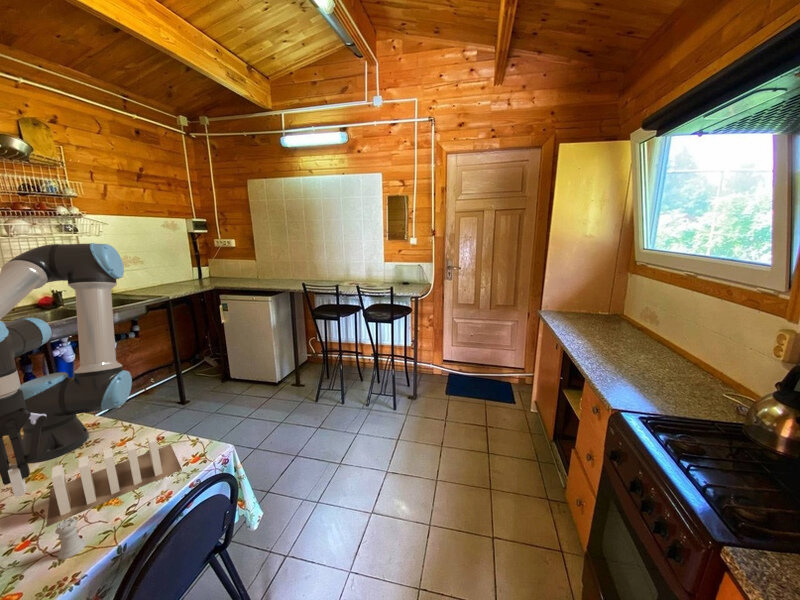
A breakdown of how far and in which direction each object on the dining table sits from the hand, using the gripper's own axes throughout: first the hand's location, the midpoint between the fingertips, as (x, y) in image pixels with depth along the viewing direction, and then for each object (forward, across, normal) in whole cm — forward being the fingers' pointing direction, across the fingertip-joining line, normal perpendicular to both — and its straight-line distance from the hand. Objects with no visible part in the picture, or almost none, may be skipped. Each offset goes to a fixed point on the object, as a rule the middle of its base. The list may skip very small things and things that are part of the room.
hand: (20, 492), depth 73 cm
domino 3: (+8, +15, 0) cm, 17 cm away
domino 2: (+8, +10, 0) cm, 13 cm away
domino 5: (+8, +24, 0) cm, 25 cm away
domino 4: (+8, +19, 0) cm, 21 cm away
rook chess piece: (+10, +7, -16) cm, 20 cm away
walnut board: (+9, +16, +4) cm, 19 cm away
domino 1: (+8, +6, 0) cm, 10 cm away
